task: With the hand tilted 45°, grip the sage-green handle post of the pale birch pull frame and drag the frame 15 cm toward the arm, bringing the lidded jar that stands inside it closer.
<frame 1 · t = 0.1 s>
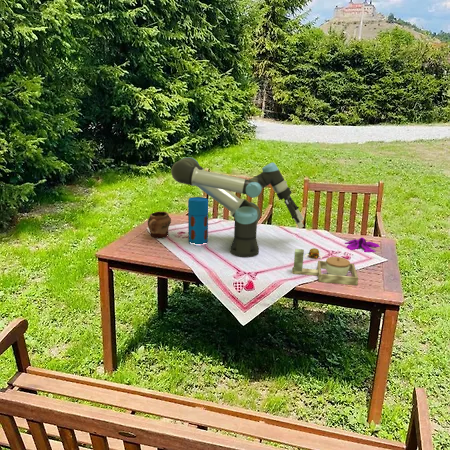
hand: (301, 223, 234), 14 cm above the table, tool tilted 35°, fingers open, 13 cm apart
lidded jar: (336, 276, 204), resting in pull frame
cloth: (359, 247, 245), on the table
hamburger: (313, 259, 226), on the table
pull frame: (324, 263, 203), point 6 cm above the table, slide at 0.0 cm
thermos: (198, 243, 243), on the table, touching arm
decorative planter: (158, 237, 249), on the table
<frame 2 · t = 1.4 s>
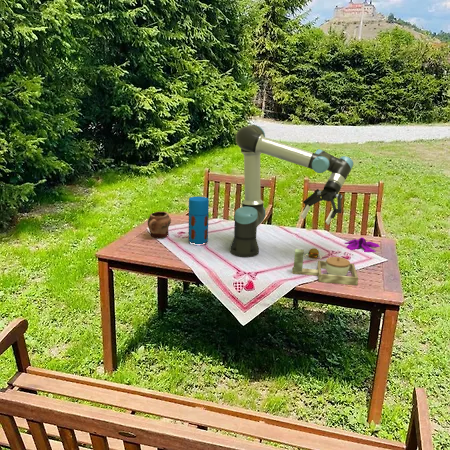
hand: (314, 220, 207), 24 cm above the table, tool tilted 45°, fingers open, 13 cm apart
thermos: (198, 242, 243), on the table
everything else where it was.
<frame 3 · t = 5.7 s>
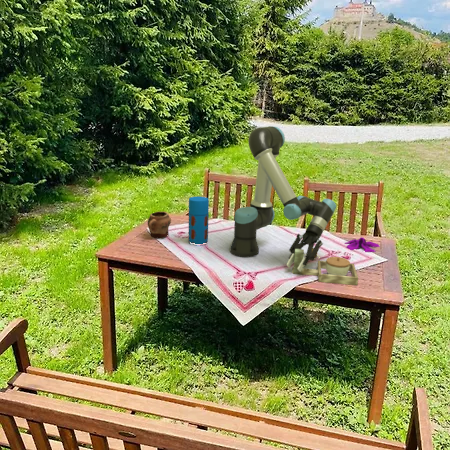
hand: (293, 268, 203), 3 cm above the table, tool tilted 45°, fingers closed on pull frame, 6 cm apart
pull frame: (324, 263, 203), point 6 cm above the table, slide at 0.0 cm, touching gripper
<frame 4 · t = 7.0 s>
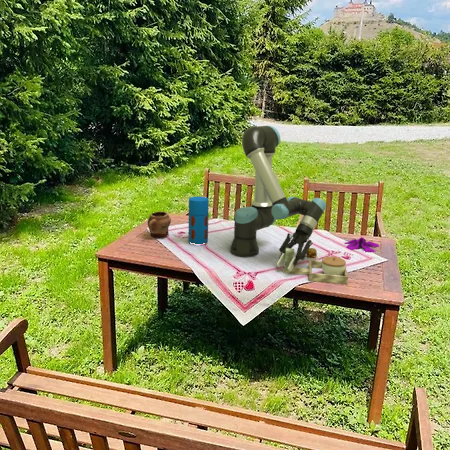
hand: (283, 267, 203), 3 cm above the table, tool tilted 45°, fingers closed on pull frame, 6 cm apart
lidded jar: (332, 276, 204), resting in pull frame
pull frame: (315, 263, 204), point 6 cm above the table, slide at 4.3 cm, touching gripper, lidded jar
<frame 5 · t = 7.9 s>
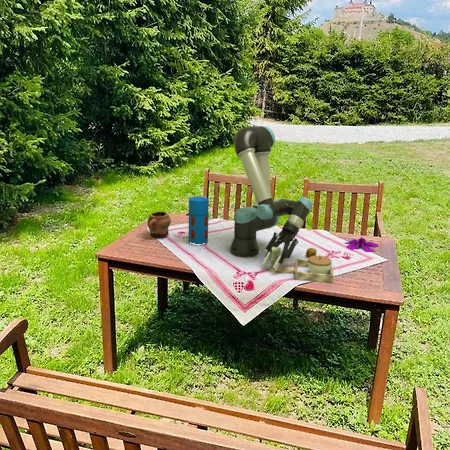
hand: (269, 266, 204), 3 cm above the table, tool tilted 45°, fingers closed on pull frame, 6 cm apart
lidded jar: (318, 275, 205), resting in pull frame
pull frame: (301, 261, 204), point 6 cm above the table, slide at 10.8 cm, touching gripper, lidded jar
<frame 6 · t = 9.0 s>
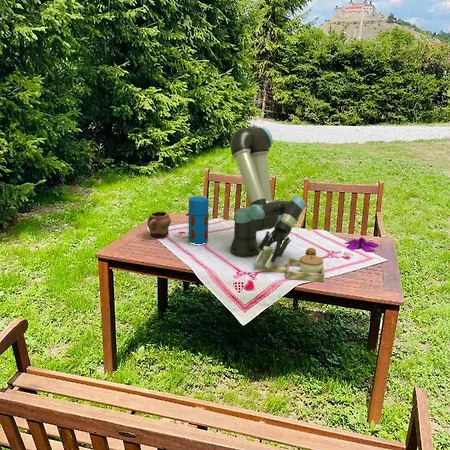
hand: (261, 265, 205), 4 cm above the table, tool tilted 45°, fingers closed on pull frame, 6 cm apart
lidded jar: (310, 274, 205), resting in pull frame
pull frame: (292, 261, 205), point 6 cm above the table, slide at 14.7 cm, touching gripper, lidded jar
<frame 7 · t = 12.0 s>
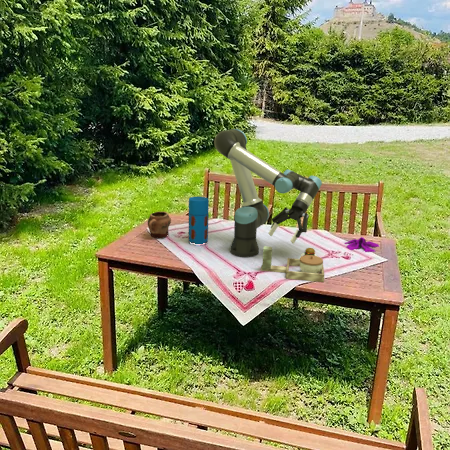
hand: (280, 238, 211), 14 cm above the table, tool tilted 45°, fingers open, 13 cm apart
lidded jar: (310, 274, 205), resting in pull frame
pull frame: (292, 261, 205), point 6 cm above the table, slide at 14.7 cm
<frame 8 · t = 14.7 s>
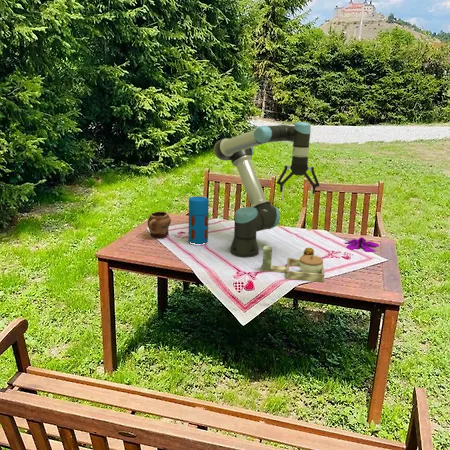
hand: (296, 199, 212), 32 cm above the table, tool pointing down, fingers open, 13 cm apart
at the end: pull frame slide at 14.7 cm; lidded jar inside the target area (1.9 cm from its centre), resting in pull frame; lidded jar tilted 0° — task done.
